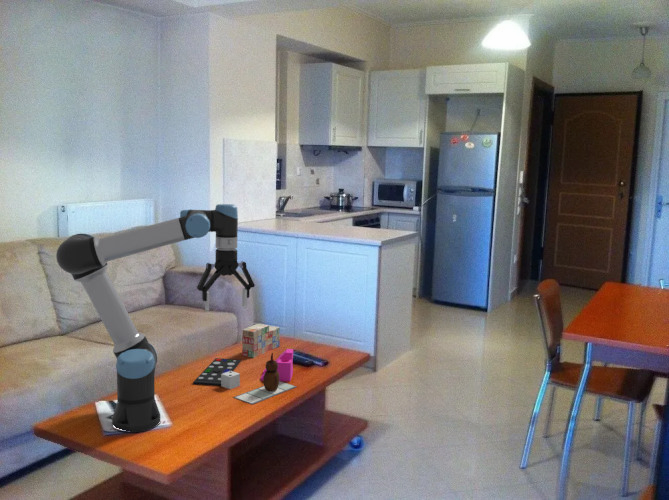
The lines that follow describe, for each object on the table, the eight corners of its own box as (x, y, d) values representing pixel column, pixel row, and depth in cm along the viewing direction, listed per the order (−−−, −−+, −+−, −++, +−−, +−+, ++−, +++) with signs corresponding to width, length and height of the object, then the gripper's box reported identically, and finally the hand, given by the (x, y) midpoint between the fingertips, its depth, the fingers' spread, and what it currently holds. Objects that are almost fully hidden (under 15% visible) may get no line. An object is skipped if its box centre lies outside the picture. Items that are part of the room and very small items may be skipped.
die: (230, 389, 239) (230, 376, 238) (221, 386, 242) (221, 373, 241) (239, 386, 243) (239, 373, 242) (230, 383, 246) (230, 370, 245)
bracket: (292, 373, 259) (293, 349, 258) (290, 381, 249) (290, 356, 248) (263, 372, 260) (264, 348, 258) (260, 380, 249) (260, 355, 248)
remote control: (240, 362, 272) (240, 358, 271) (221, 387, 242) (221, 382, 242) (215, 361, 273) (215, 357, 273) (193, 385, 243) (193, 380, 243)
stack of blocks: (268, 344, 299) (269, 319, 297) (279, 346, 296) (280, 321, 294) (242, 355, 280) (242, 329, 278) (253, 358, 277) (253, 331, 275)
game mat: (252, 404, 224) (252, 404, 224) (233, 397, 230) (233, 397, 230) (296, 387, 243) (296, 386, 243) (278, 380, 249) (278, 380, 249)
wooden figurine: (276, 393, 235) (276, 354, 233) (261, 391, 236) (262, 353, 234) (281, 387, 242) (281, 349, 240) (266, 385, 243) (267, 348, 241)
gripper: (193, 251, 209) (193, 313, 212) (264, 249, 220) (263, 308, 223) (188, 248, 215) (188, 308, 218) (256, 246, 227) (255, 303, 230)
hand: (226, 308), depth 221 cm, fingers open, 13 cm apart
